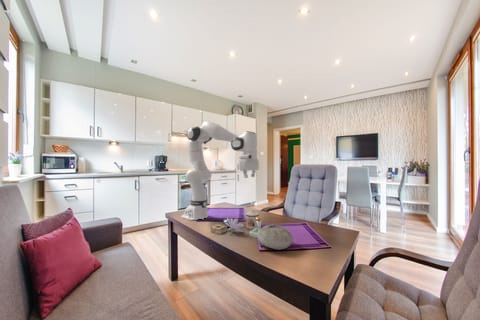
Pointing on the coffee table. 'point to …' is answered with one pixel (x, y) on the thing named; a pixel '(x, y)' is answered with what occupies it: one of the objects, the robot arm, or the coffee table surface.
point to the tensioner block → (218, 229)
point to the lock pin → (258, 223)
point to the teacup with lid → (252, 219)
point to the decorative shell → (275, 237)
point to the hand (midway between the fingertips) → (249, 177)
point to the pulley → (227, 222)
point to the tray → (253, 233)
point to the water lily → (234, 225)
